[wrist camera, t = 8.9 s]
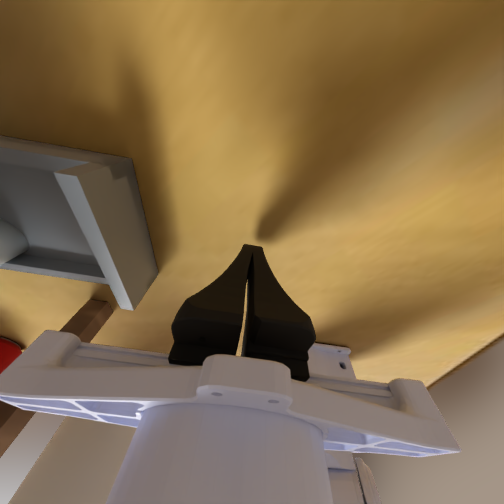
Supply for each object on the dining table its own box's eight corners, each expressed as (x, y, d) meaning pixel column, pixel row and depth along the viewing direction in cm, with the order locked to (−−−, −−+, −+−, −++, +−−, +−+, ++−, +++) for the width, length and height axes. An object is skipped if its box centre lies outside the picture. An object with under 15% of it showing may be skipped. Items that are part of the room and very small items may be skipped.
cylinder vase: (112, 386, 40) (-40, 654, 20) (84, 362, 32) (-205, 756, 13) (168, 392, 40) (70, 667, 20) (153, 369, 32) (-27, 778, 12)
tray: (131, 158, 11) (50, 184, 7) (158, 274, 17) (124, 324, 13) (-150, 108, 10) (-424, 105, 6) (-19, 247, 16) (-114, 291, 12)
